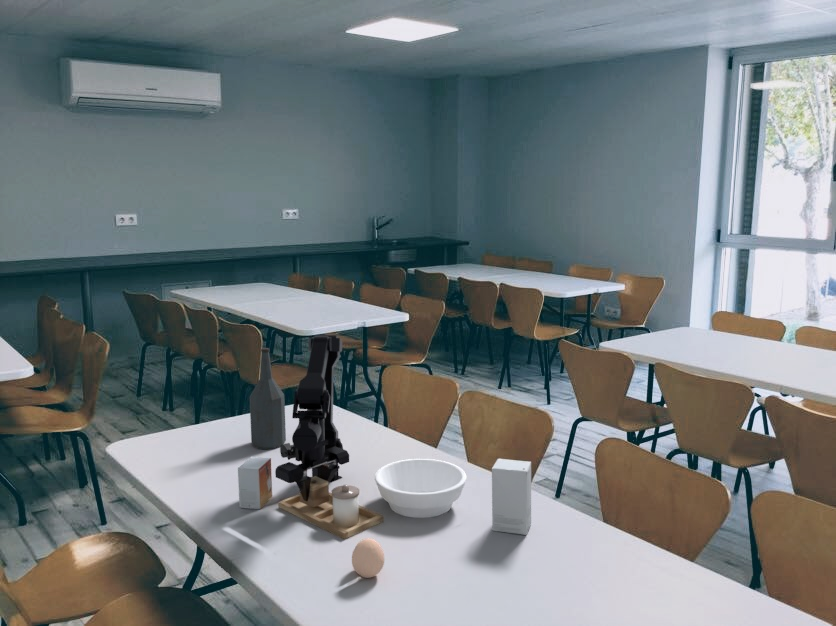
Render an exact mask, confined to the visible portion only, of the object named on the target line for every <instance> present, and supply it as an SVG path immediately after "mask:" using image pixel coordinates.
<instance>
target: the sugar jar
mask: <svg viewBox="0 0 836 626" xmlns="http://www.w3.org/2000/svg"><path fill="white" fill-rule="evenodd" d="M331 493H332V496H333V524H334V525H336V526H338V527H352V526H355V525H357V524H358V522H359V505H360V503H359V501H360V499H359V495H360V488H359V487H357V486H354V485H348V484H343V485H337V486H336V487H334V488H332V490H331Z"/></svg>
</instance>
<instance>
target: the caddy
mask: <svg viewBox="0 0 836 626" xmlns="http://www.w3.org/2000/svg"><path fill="white" fill-rule="evenodd" d="M278 508H279V509H281V510H283V511H284V512H287V513H289V514H291V515H294V516H295V517H298V518H300V519H301V520H304V521H305V522H307V523H309V524H311V525H314V526H316V527H317V528H318V527H319V528H320V529H323V530H324V531H327V532H328V533H331V534H333V535H335V536H337V537H339V538H341V539H342V540H347V539H348V538H351V537H353V536H355V535H358V534H359V533H362V532H363V531H366V530H369V529H370V528H373V527H375V526H377V525H378V524H380V523H382V522H384V515H383V514H380V513H378V512H375V511H374V510H371V509H369V508H366V507H364V506H362V505H360V504H359V522H358V524H357V525H355V526H352V527H338V526H336V525H334V524H333V496H332V492H329V501H328V502H325V503H323V504H321V505H318V506H316V507H311V506H308V505H306V504H304V503H302V502H300V493H299V494H296V495H293V496H291V497H288V498H285V499H282V500H280V501H278Z"/></svg>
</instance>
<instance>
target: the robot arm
mask: <svg viewBox="0 0 836 626" xmlns="http://www.w3.org/2000/svg"><path fill="white" fill-rule="evenodd" d="M307 345H308V348H307V349H308V350H307V351H308V352H310V353H309V359H308V364H307V370H306V374H305V376H304V377H303V378H302V379H301V380H299V382H298V386H297V389H296V390H294V398H293V405H292V406H293V407H292V417H291V418H292V419H298V425H297V427H296V428H295V430H294V431H293V433H292V436H291V437H292V444H291V443H290V442H288V443H284V444H283V445H280V447H279V448H280V449H279V453H280V456H281V458H283V459H284V458H287V460H291V459H295V461H296V462H301V463H299V464H296V463H293V462H290V461H288V462H286V463H282V464H280V465H278V466H276V468H275V478H277V479H278V480H281V481H283V482H286V483H288V484H294V483H296V485H297V487H298V491H299V493H300V492H301V495H302V497H303V499H304V501H308V497H309V491H310V483H311V478H312V477H314V476H316V477H319V478H321V479H323V480H326V481H328V482H329V484H330V483H333V482H335V481H339V480H341V479H343V476H341V475H339V469H340V465H341V466H342V465H345V464H347V463H350V453H349V452H348V450H346V449H344V445H343V443H342V440H341V438H339V430H338V429H337V428H336V425H335V424H334V421H333V419H334V417H333V416H334V415H333V414H334V412H333V411H334V379H335V378H334V377H335V376H334V375H335V373H334V371H335V366H336V365H337V363H338V362H339V360H340V357H341V353H342V352H343V339H342V338H341V337H339V336H338V334H314V335H313V337H312V336H311V337H308V344H307ZM298 408H299V410H298ZM309 470H311V476H308V471H309Z"/></svg>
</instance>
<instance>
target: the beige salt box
mask: <svg viewBox="0 0 836 626" xmlns="http://www.w3.org/2000/svg"><path fill="white" fill-rule="evenodd" d="M311 477H312V476H311ZM329 485H330V483H329V482H328V481H326V480H323V479H321V478H319V477H316V476H314V477H312V478H311V483H310V491H309V497H308V501H304V499H303V497H302V495H301V492H300V491H299V494H300V502H302V503H304V504H306V505H308V506H311V507H316V506H318V505H321V504H323V503H325V502H328V501H329V493H330V487H329Z"/></svg>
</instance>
